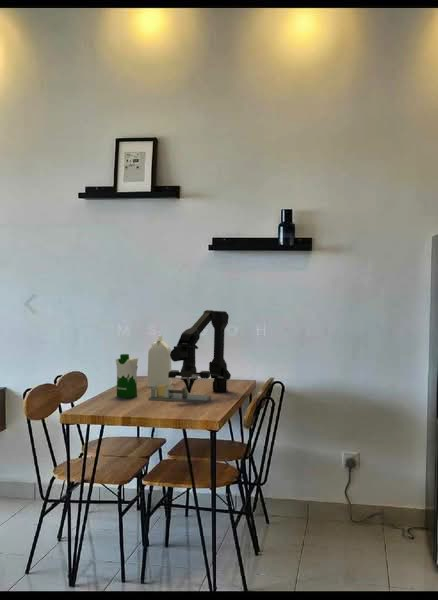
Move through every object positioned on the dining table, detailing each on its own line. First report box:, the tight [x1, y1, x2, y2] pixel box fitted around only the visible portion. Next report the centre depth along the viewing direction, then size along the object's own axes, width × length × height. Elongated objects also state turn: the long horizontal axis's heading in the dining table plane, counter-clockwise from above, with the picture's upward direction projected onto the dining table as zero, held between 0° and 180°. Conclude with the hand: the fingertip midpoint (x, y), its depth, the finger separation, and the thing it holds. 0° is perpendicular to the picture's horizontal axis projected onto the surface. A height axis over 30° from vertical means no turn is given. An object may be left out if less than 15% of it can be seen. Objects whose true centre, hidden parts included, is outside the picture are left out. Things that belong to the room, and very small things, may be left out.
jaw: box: [164, 384, 189, 398], centre depth 285 cm, size 9×10×4 cm
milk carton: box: [115, 353, 139, 399], centre depth 288 cm, size 9×9×20 cm
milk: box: [146, 334, 173, 388], centre depth 321 cm, size 12×12×26 cm
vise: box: [147, 385, 212, 403], centre depth 285 cm, size 27×12×5 cm, turn 81°
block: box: [158, 384, 169, 397], centre depth 286 cm, size 4×7×5 cm, turn 171°
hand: (189, 392), depth 284 cm, fingers closed
